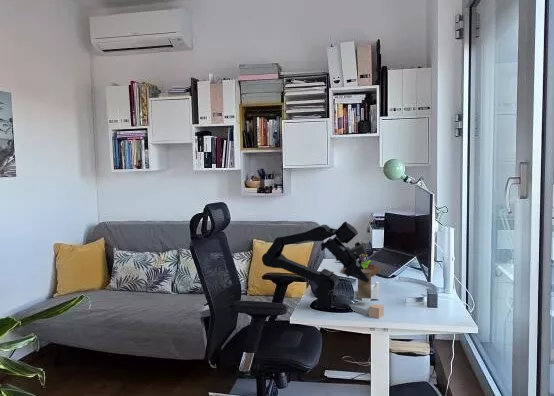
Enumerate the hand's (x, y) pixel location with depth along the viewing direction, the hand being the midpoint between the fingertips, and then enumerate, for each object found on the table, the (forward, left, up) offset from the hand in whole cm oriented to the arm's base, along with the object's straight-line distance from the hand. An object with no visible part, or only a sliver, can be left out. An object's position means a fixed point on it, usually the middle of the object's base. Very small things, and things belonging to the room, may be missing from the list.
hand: (368, 279), depth 182 cm
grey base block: (-1, +1, -12) cm, 13 cm away
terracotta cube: (-3, -7, -12) cm, 14 cm away
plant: (+44, +43, -13) cm, 63 cm away
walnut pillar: (-1, +1, -7) cm, 7 cm away
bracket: (+14, +12, -12) cm, 22 cm away
